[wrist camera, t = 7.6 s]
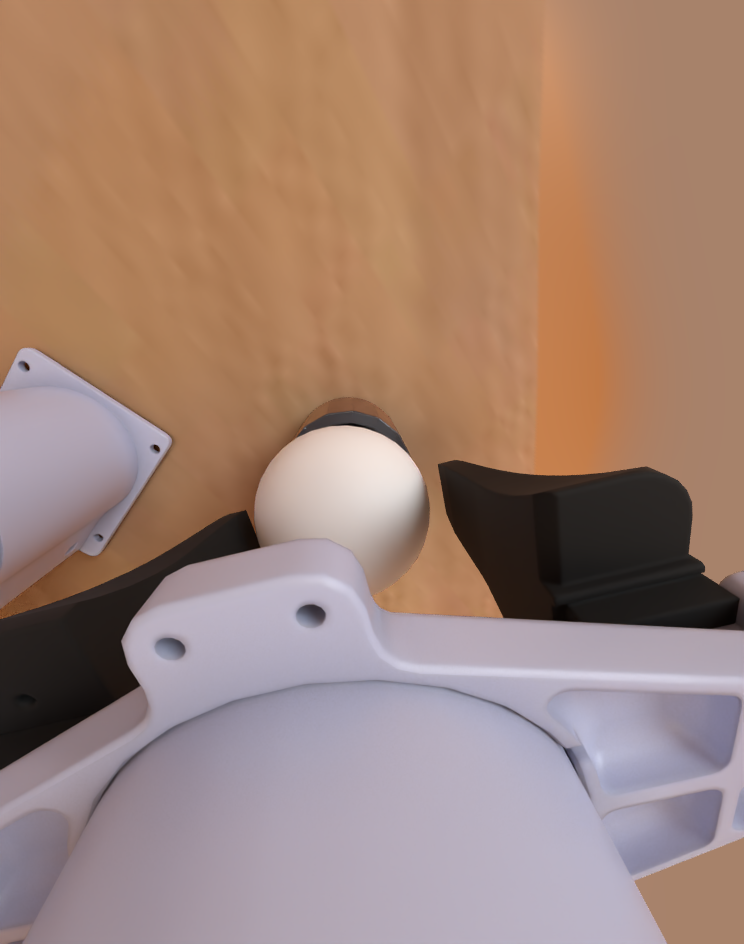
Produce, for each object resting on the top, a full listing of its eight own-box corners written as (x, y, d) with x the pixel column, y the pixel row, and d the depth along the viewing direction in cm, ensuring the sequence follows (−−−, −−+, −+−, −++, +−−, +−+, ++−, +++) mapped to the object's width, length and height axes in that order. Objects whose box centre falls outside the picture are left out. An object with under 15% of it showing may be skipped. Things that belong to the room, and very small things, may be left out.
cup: (357, 510, 22) (359, 550, 18) (278, 456, 21) (260, 485, 16) (418, 439, 21) (436, 463, 16) (339, 375, 19) (336, 383, 15)
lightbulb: (419, 452, 20) (493, 562, 10) (342, 516, 21) (337, 675, 11) (348, 370, 19) (348, 403, 8) (268, 445, 20) (180, 556, 9)
